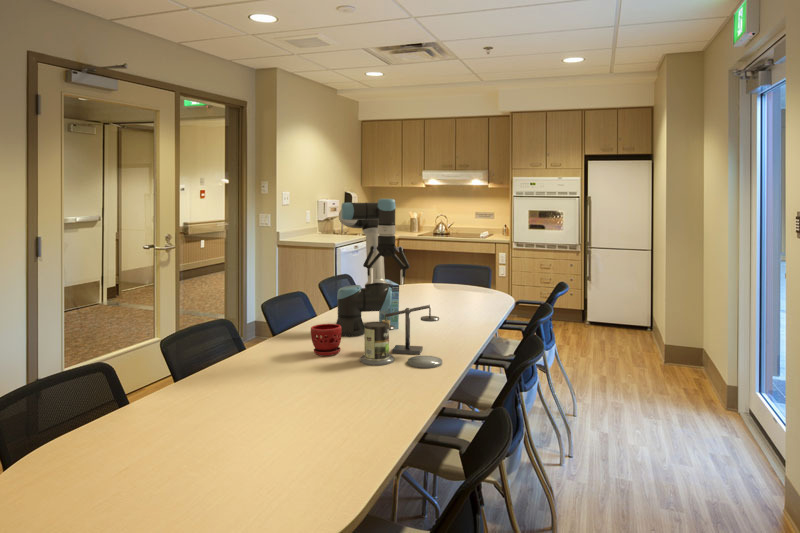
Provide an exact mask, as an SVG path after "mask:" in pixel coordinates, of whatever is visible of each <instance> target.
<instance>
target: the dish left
mask: <svg viewBox="0 0 800 533" xmlns="http://www.w3.org/2000/svg"><path fill="white" fill-rule="evenodd" d="M364 357H365V354H363V355H361V356H360V357H359V362H360V363H361V364H363V365H366V366H373V365H375V366H378V367H379V366H386V365H390V364H393V363H394V362H395V356H394V355H392V354H389V358H388V359H386V360H382V361H370V360H366V359H365V358H364Z"/></svg>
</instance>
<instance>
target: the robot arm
mask: <svg viewBox="0 0 800 533" xmlns="http://www.w3.org/2000/svg"><path fill="white" fill-rule="evenodd" d="M377 200H378V201H377V202H350V201H349V202H343V203H341V208H340V210H339V212H338V220H339V222H340V223H341V224H342V225H343V226H345V227H348V228H351V229H362V230H361V232H362V233H363V235H365V250H366V252H365V253H366V259H365V261H364V263H363V267H364V268H366V270H367V272H366V274H367V282H366V283H365V284H364V287H363V288H362V286H361V285H360V284H356V285H355V284H353V285H345V286H342V287H340V288H339V289H338V290H337V297H336V300H337V319H336V321H335V324H338V325H340V326H341V337H358V336H363V335H364V324H365V323H364V322H363V319H362V313H363V312H378V313H379V312H380V311H387V310H388V309H389V308H390V305H391V299H392V288H391V287H388V283H387V282H386V281H385V279H386V277H385V257H387V258H390V257H392V259H393V260H394V261H395V262H396V264H398V266H399V267H400V278H399V279H400V281H399V282H400V284H399V286H403V285H404V278H405V277H406V276H407V275H406V274H407V269H409V268H410V267H411V265H410V263H409V261H408V259H407V256H406V255H405V252H404V249H403V248H404V247H403V246H396V236H395V234H396V208H397V206H396V200H395V199H394V198H379V199H377ZM396 251H397V252H398V253H399V256H400V258H401V259H402V260H401V259H400V258H399V257H398V255H397V254H396ZM402 261H403V262H402Z"/></svg>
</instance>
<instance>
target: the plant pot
mask: <svg viewBox="0 0 800 533" xmlns="http://www.w3.org/2000/svg"><path fill="white" fill-rule="evenodd" d="M310 337H311V342H312V345H313V347H314V348H313V352H314V354H316V355H318V356H325V357H326V356H327V357H328V356H336V355H337V354H339V353H340V352H341V347H340V344H341V341H342V336H341V326H340V325H338V324H336V323H320V324H316V325H313V326H311V327H310ZM335 354H336V355H335Z"/></svg>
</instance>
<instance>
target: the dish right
mask: <svg viewBox="0 0 800 533" xmlns="http://www.w3.org/2000/svg"><path fill="white" fill-rule="evenodd" d="M407 365H408V366H410V367H412V366H413V368H416V367H417V368H418V369H435V368H438V367H441V366H442V365H443V359H442V358H441V357H438V356H435V355H434V356H433V355H416V356H411V357H409V358H408V359H407ZM417 368H416V369H417Z"/></svg>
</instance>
